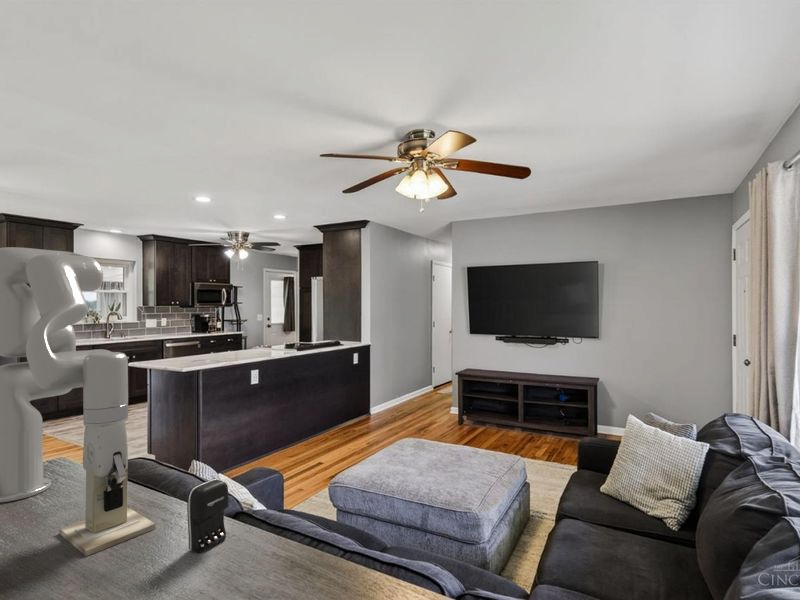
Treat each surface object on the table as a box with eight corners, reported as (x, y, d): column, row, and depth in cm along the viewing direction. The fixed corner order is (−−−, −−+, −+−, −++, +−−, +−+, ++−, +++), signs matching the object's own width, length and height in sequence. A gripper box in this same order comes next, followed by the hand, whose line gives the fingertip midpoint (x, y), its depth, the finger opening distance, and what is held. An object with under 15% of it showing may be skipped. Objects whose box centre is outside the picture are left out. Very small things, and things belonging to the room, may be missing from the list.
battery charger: (200, 557, 79) (199, 492, 79) (186, 551, 81) (185, 488, 81) (232, 538, 85) (231, 479, 85) (219, 534, 87) (218, 475, 87)
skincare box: (92, 534, 85) (93, 470, 86) (84, 527, 88) (84, 465, 88) (128, 521, 90) (128, 461, 91) (119, 515, 93) (119, 457, 93)
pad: (59, 533, 88) (59, 527, 88) (125, 510, 98) (125, 504, 98) (86, 556, 80) (86, 549, 80) (155, 528, 90) (155, 522, 90)
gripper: (68, 412, 91) (69, 501, 91) (102, 425, 81) (103, 524, 81) (109, 405, 97) (110, 488, 97) (145, 416, 87) (146, 509, 87)
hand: (107, 504), depth 89 cm, fingers open, 5 cm apart
